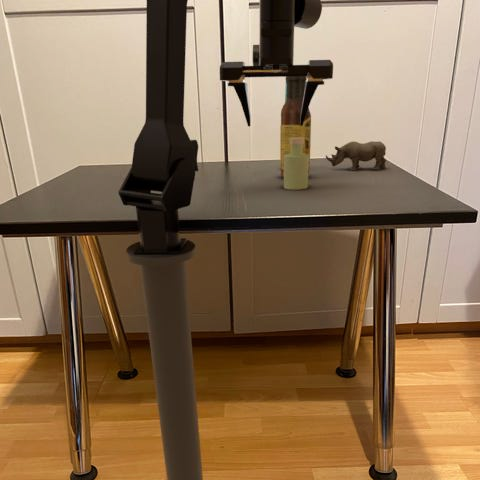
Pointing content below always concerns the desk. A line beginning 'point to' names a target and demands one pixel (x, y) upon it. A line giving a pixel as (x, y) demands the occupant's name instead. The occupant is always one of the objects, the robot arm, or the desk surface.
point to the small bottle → (296, 166)
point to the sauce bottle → (294, 119)
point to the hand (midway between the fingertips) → (275, 126)
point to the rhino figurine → (360, 154)
